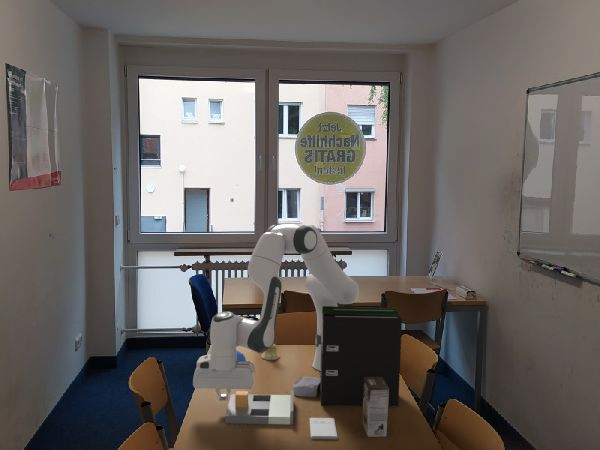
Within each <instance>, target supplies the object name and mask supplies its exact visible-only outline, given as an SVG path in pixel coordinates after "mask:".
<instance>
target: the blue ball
mask: <svg viewBox="0 0 600 450" xmlns="http://www.w3.org/2000/svg"><path fill="white" fill-rule="evenodd" d="M237 361H247V358H246V356H245V355H244V353H243V352H241V351H239V350H237Z"/></svg>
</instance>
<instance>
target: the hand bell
mask: <svg viewBox="0 0 600 450" xmlns="http://www.w3.org/2000/svg"><path fill="white" fill-rule="evenodd" d="M260 358H261V359H262V360H266V361H276V360H279V359H280V358H281V355H280V353H279V352H278V351H277V346H276V344H275V343H273V345H272V346H271V347H270V348H269V349H268V350H267V351H265V352H263V353H262V354H261V356H260Z"/></svg>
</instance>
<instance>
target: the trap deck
mask: <svg viewBox="0 0 600 450" xmlns="http://www.w3.org/2000/svg"><path fill="white" fill-rule="evenodd" d="M235 395H236V393H232V394H230V398H229V401H228V404H227V409H226V412H225V417H224V418H225V419H224V420H225V422H224V423H225V424H233V425H234V424H243V425H248V424H251V425H294V392H293V389H290V394H253V393H251V394H250V393H248V406H247V408H246V407H235Z"/></svg>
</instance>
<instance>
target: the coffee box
mask: <svg viewBox="0 0 600 450" xmlns="http://www.w3.org/2000/svg"><path fill="white" fill-rule="evenodd" d="M388 399H389V387H388V386H387V384H386V382H385V381H384V379H383V377H364V389H363V406H362V426H363V429H364V431H365V434H366V435H367V437H368V438H369V437H370V438H373V437H374V438H377V437H378V438H379V437H380V438H381V437H387V435H388V434H387V433H388V418H389V417H388V416H389V415H388V413H389V407H388Z"/></svg>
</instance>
